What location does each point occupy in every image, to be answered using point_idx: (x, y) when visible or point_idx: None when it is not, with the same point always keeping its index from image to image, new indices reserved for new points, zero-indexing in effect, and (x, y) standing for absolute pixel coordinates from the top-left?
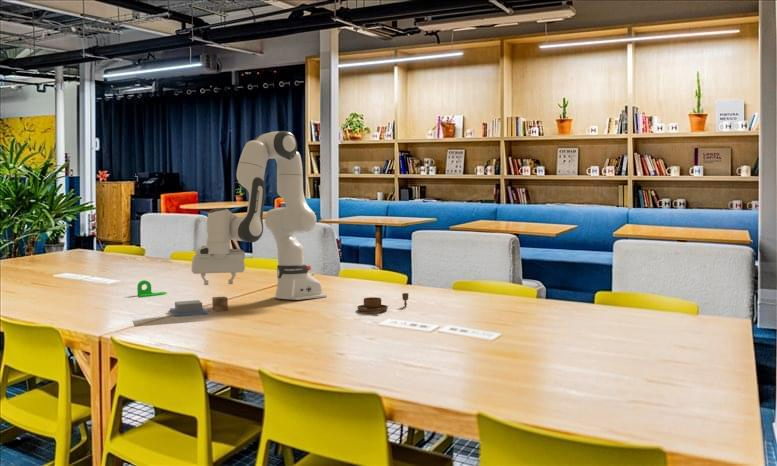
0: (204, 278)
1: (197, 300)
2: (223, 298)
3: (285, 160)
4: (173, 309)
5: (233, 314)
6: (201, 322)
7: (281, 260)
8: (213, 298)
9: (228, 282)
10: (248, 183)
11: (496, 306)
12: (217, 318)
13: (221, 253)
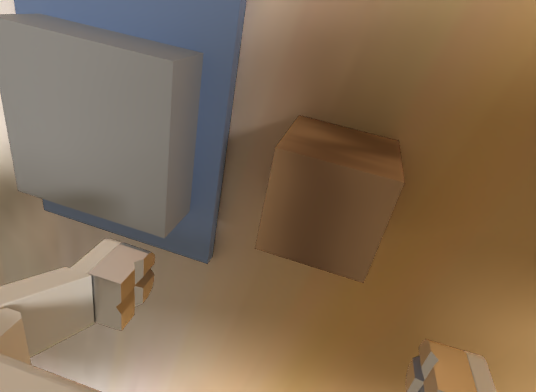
0: (50, 342)
1: (160, 75)
2: (328, 271)
3: None
4: (30, 12)
5: (321, 351)
6: (141, 386)
7: None
8: (265, 200)
9: (424, 360)
10: None
11: None
12: (216, 371)
13: None
